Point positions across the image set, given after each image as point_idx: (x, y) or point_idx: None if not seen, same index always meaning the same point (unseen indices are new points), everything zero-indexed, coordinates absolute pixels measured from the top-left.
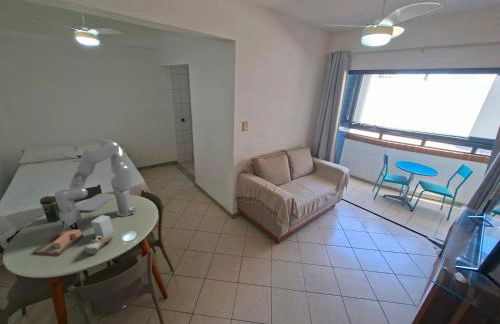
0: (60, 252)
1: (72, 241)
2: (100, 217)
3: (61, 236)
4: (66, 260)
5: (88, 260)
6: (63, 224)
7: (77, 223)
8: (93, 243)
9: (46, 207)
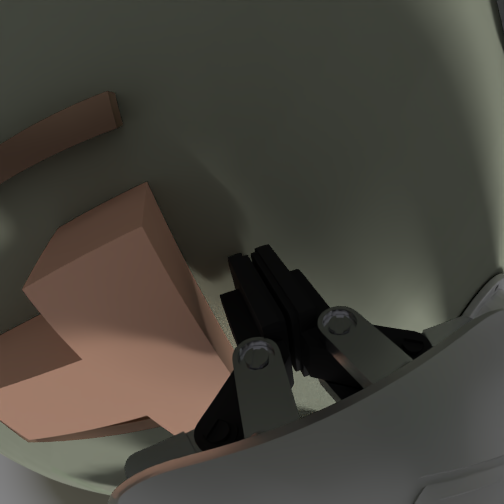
0: (35, 439)
1: (121, 425)
2: None
3: (47, 384)
4: (59, 462)
5: None
6: (161, 490)
7: (348, 387)
8: None
9: None
